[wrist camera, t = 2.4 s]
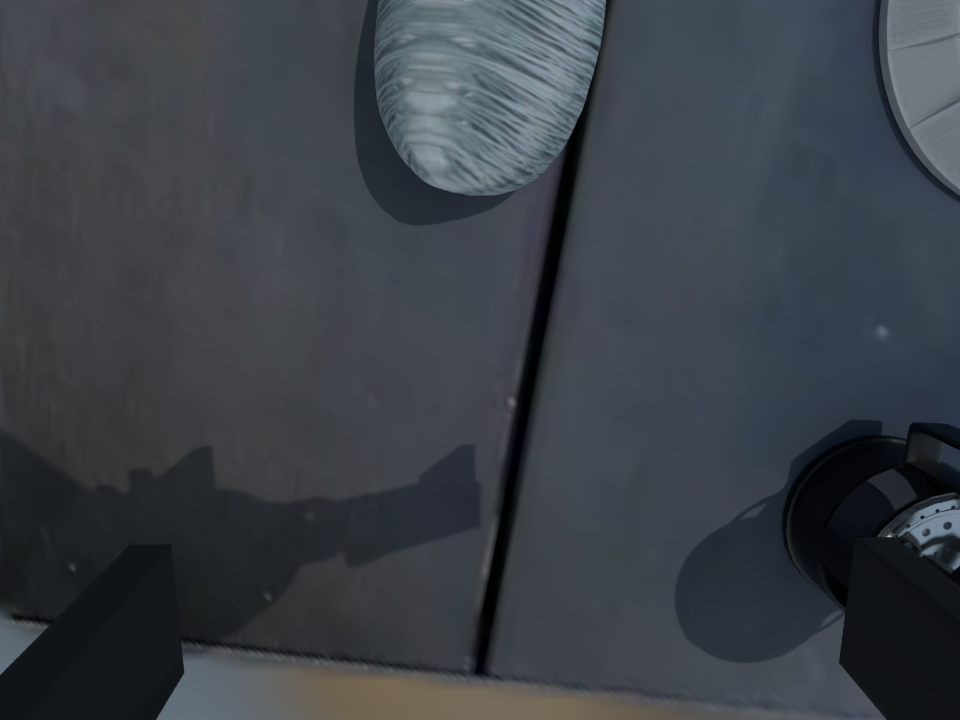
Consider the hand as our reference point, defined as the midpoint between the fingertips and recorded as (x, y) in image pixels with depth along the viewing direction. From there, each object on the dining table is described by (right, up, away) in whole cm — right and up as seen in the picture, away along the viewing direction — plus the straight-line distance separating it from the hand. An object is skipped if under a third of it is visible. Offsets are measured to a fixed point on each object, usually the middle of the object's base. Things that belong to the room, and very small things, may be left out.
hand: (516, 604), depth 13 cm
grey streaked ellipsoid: (-1, +19, +18) cm, 27 cm away
